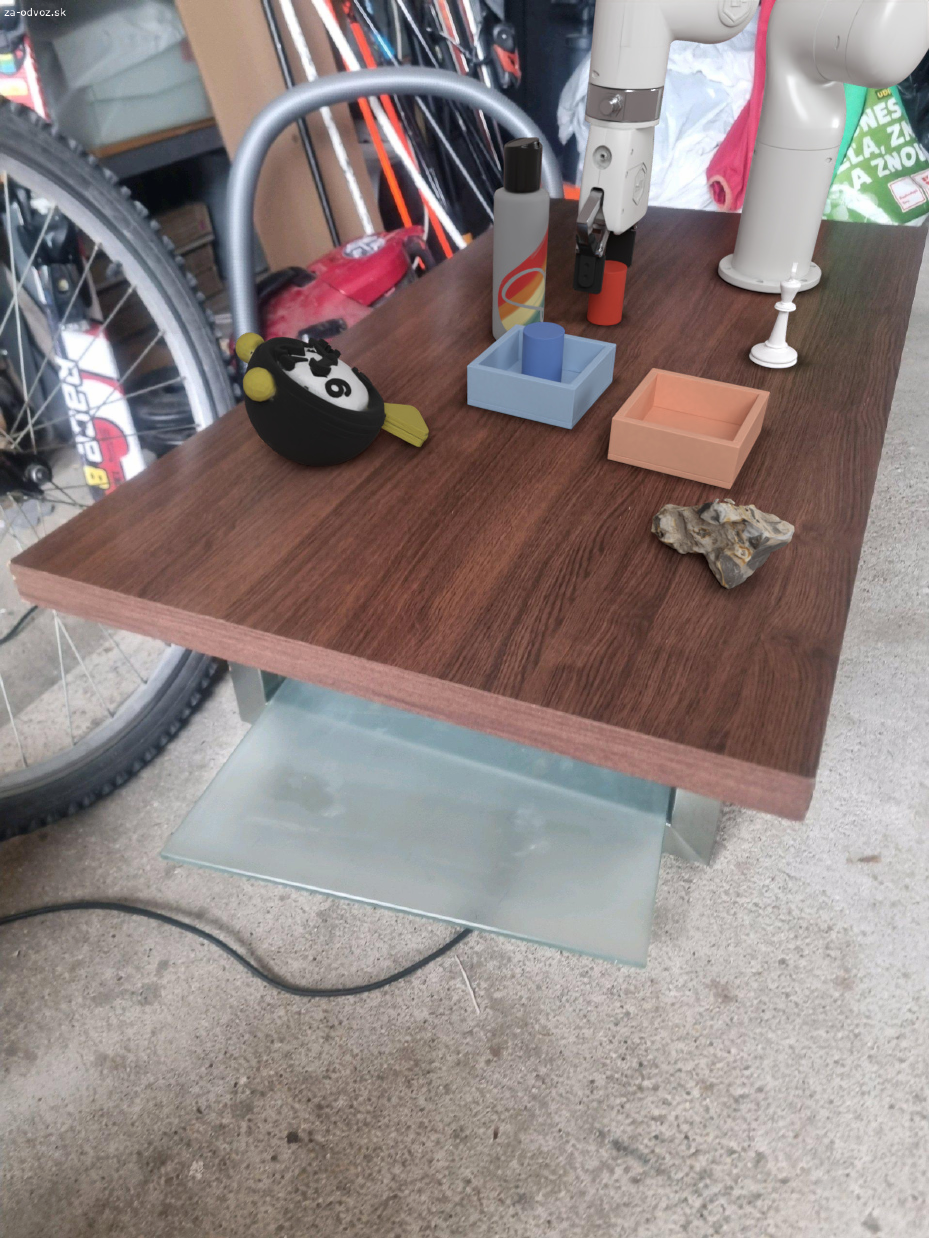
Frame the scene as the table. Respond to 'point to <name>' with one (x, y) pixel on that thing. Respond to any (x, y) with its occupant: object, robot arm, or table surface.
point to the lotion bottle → (520, 238)
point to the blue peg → (543, 350)
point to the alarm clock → (316, 402)
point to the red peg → (608, 296)
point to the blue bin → (540, 380)
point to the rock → (723, 536)
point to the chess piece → (779, 330)
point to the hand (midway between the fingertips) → (602, 278)
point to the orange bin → (688, 427)
